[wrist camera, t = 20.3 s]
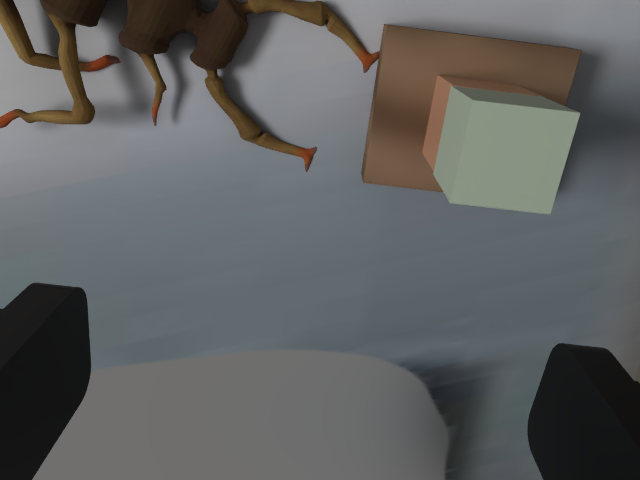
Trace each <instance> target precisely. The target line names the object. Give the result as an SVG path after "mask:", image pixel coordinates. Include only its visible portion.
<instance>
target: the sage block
mask: <svg viewBox="0 0 640 480" xmlns="http://www.w3.org/2000/svg"><path fill="white" fill-rule="evenodd" d="M579 116H580V112H577V111H575V110H572V109H570V108H568V107H565V106H563V105H561V104H558V103H556V102H554V101H551V100H549V99H547V98H544V97H542V96H533V95H525V94H517V93H508V92H500V91H491V90H483V89H475V88H466V87H458V86H451V88H450V93H449V98H448V103H447V108H446V113H445V118H444V123H443V128H442V133H441V138H440V143H439V148H438V153H437V158H436V163H435V168H434V173H433V175H434V177H435V178H436V180H437V182H438V183H439V185H440V187H441V188H442V190H443V192H444V193H445V195H446V197H447V198H448V200H449V202H450V203H455V204H463V205H472V206H481V207H490V208H498V209H507V210H516V211H525V212H533V213H542V214H550V213H551V210H552V207H553V203H554V200H555V197H556V193H557V190H558V187H559V183H560V180H561V177H562V173H563V170H564V167H565V163H566V160H567V156H568V153H569V150H570V146H571V143H572V140H573V136H574V133H575V130H576V126H577V123H578V120H579Z"/></svg>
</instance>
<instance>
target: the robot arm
mask: <svg viewBox="0 0 640 480" xmlns="http://www.w3.org/2000/svg"><path fill="white" fill-rule="evenodd" d="M90 373H91V356H90V339H89V323H88V306H87V297H86V294H85V292H84V290H83V289H82V288H79V287H71V286H62V285H53V284H44V283H32V284H31V285H29V286H28V287H27V288H26V289H25V290H24V291H22V292H21V293H20V294H19V295H18V296H17V297H16V298H15V299H14V300H13V301H11V302H10V303H9V304H8V305H7V306H6V307H5V308H4V309H0V480H32V479H33V477H34V475H35V474H36V472H37V471H38V469H39V468H40V466H41V464H42V463H43V461H44V460H45V458H46V457H47V455H48V454H49V452H50V450H51V449H52V447H53V446H54V444H55V443H56V441H57V440H58V438H59V436H60V435H61V433H62V432H63V430H64V429H65V427H66V425H67V424H68V422H69V421H70V419H71V418H72V416H73V414H74V413H75V411H76V410H77V408H78V407H79V405H80V403H81V402H82V400H83V398H84V396H85V393H86V390H87V387H88V383H89V379H90ZM528 441H529V446H530V450H531V452H532V455H533V457H534V459H535V462H536V464H537V466H538V468H539V471H540V473H541V475H542V477H543V480H640V383H639V382H637V381H634V380H633V379H632V378H631V377H630V375H629V374H628V373H627V372H626V370H625V369H624V368H623V367H622V366H621V364H620V363H619V362H618V361H617V359H616V358H615V357H614V356H613V354H612V353H611V352H610V351H609V350H607V349H605V348H599V347H590V346H582V345H573V344H564V343H560V344H557V345H556V346H555V347H554V348H553V349H552V351H551V353H550V356H549V358H548V361H547V364H546V367H545V370H544V373H543V376H542V379H541V382H540V385H539V388H538V391H537V393H536V396H535V399H534V402H533V405H532V408H531V411H530V414H529V419H528Z"/></svg>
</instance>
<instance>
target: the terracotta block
mask: <svg viewBox="0 0 640 480" xmlns="http://www.w3.org/2000/svg"><path fill="white" fill-rule="evenodd" d="M451 86H458V87H466V88H475V89H483V90H491V91H500V92H508V93H517V94H525V95H533V96H541V95H539V94H536V93H534V92H532V91H529V90H527V89H525V88H522V87H520V86H517V85H513V84H505V83H497V82H489V81H481V80H474V79H466V78H458V77H450V76H442V75H437V80H436V85H435V90H434V95H433V100H432V105H431V110H430V115H429V121H428V126H427V131H426V136H425V141H424V146H423V151H422V153H423V155H424V157H425V158H426V160H427V162H428V163H429V165H430V166H431V168H432V170H433V171H434V168H435V163H436V158H437V153H438V148H439V143H440V138H441V133H442V128H443V123H444V118H445V113H446V108H447V103H448V98H449V93H450V88H451ZM542 97H544V96H542Z"/></svg>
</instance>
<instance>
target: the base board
mask: <svg viewBox="0 0 640 480" xmlns="http://www.w3.org/2000/svg"><path fill="white" fill-rule="evenodd" d="M581 51H582V50H578V49H572V48H567V47H559V46H551V45H543V44H535V43H528V42H520V41H512V40H504V39H496V38H488V37H480V36H473V35H465V34H457V33H449V32H441V31H433V30H425V29H418V28H410V27H402V26H394V25H386V24H384V27H383V34H382V40H381V47H380V54H379V60H378V67H377V73H376V80H375V86H374V93H373V99H372V106H371V113H370V119H369V126H368V132H367V139H366V145H365V152H364V159H363V165H362V172H361V173H362V179H363V183H370V184H378V185H387V186H395V187H403V188H412V189H420V190H428V191H437V192H443V190H442V188H441V187H440V185H439V183H438V182H437V180H436V178H435V177H434V175H433V173H434V171H433V170H432V168H431V166H430V165H429V163H428V162H427V160H426V158H425V157H424V155H423V153H422V151H423V146H424V141H425V136H426V131H427V126H428V121H429V115H430V110H431V105H432V100H433V95H434V90H435V85H436V80H437V75H442V76H450V77H458V78H466V79H474V80H481V81H489V82H497V83H505V84H513V85H517V86H520V87H522V88H525V89H527V90H529V91H532V92H534V93H536V94H539V95H541V96H544V98H547V99H549V100H551V101H554V102H556V103H558V104H561V105H563V106H565V105H566V102H567V99H568V95H569V92H570V88H571V85H572V81H573V78H574V75H575V71H576V68H577V64H578V61H579V57H580V54H581Z"/></svg>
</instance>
